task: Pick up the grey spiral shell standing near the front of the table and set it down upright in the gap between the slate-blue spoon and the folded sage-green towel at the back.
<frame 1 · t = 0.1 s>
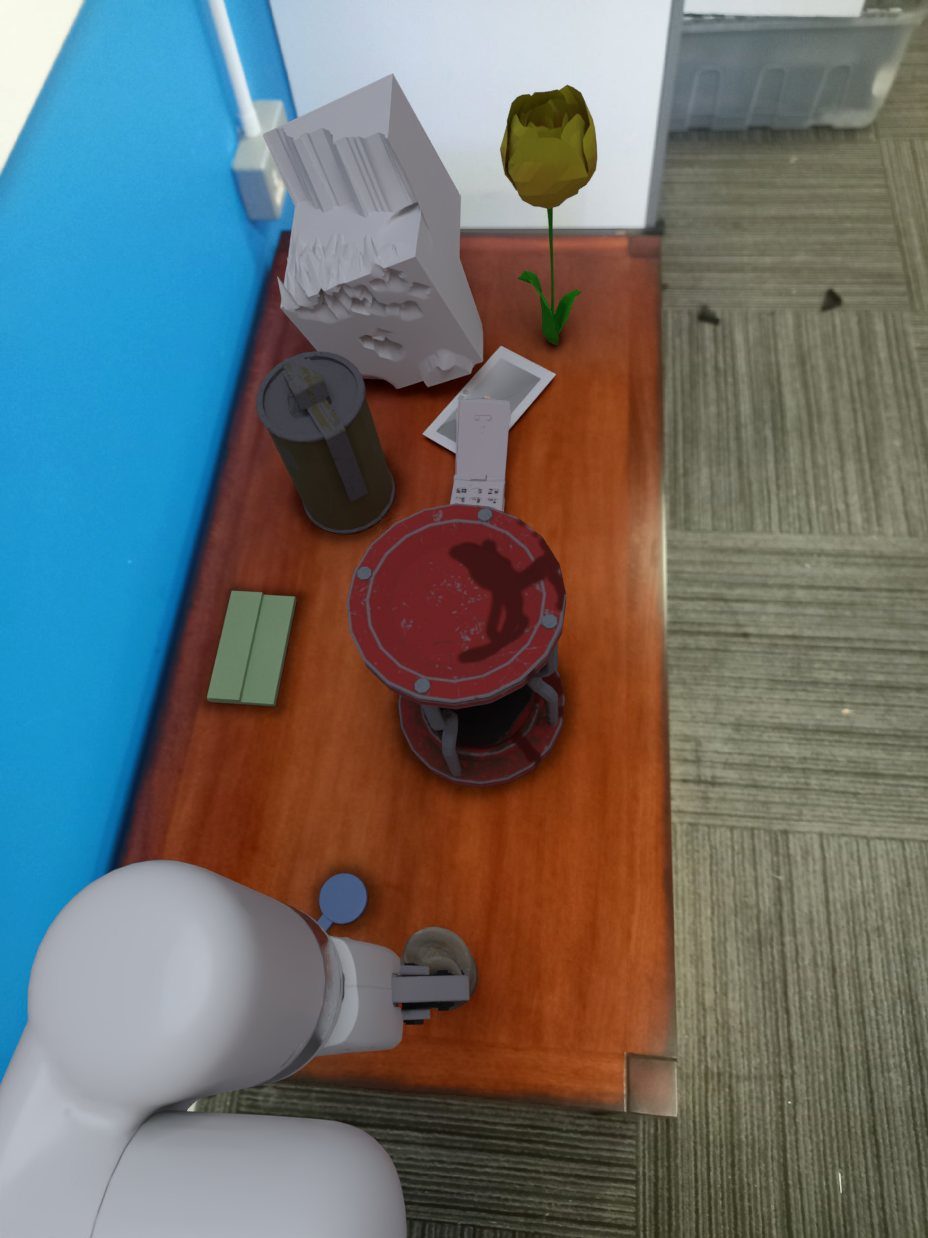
hand: (339, 999, 54), 25 cm above the table, tool pointing down, fingers open, 9 cm apart
canister: (350, 496, 99), on the table
flower: (551, 342, 106), on the table
mobile phone: (476, 526, 96), on the table
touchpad: (490, 411, 102), on the table
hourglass: (482, 707, 88), on the table
grey carved stone block: (395, 340, 108), on the table
grey spiral shell: (454, 976, 78), on the table
spoon: (315, 936, 80), on the table
towel: (254, 649, 92), on the table
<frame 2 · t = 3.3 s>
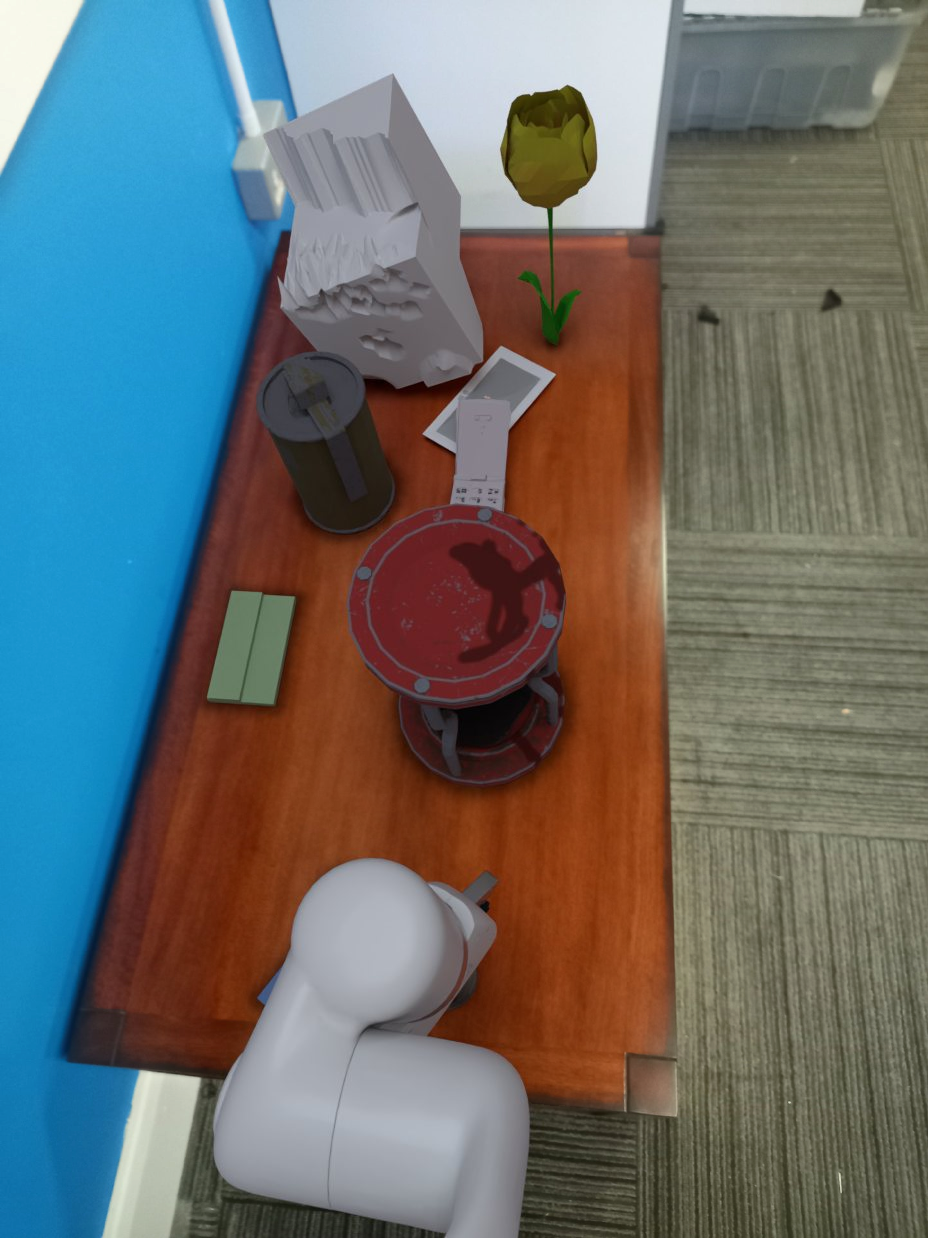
hand: (440, 970, 68), 10 cm above the table, tool pointing down, fingers closed on grey spiral shell, 5 cm apart
grey spiral shell: (454, 976, 78), on the table, touching gripper
everything else where it was.
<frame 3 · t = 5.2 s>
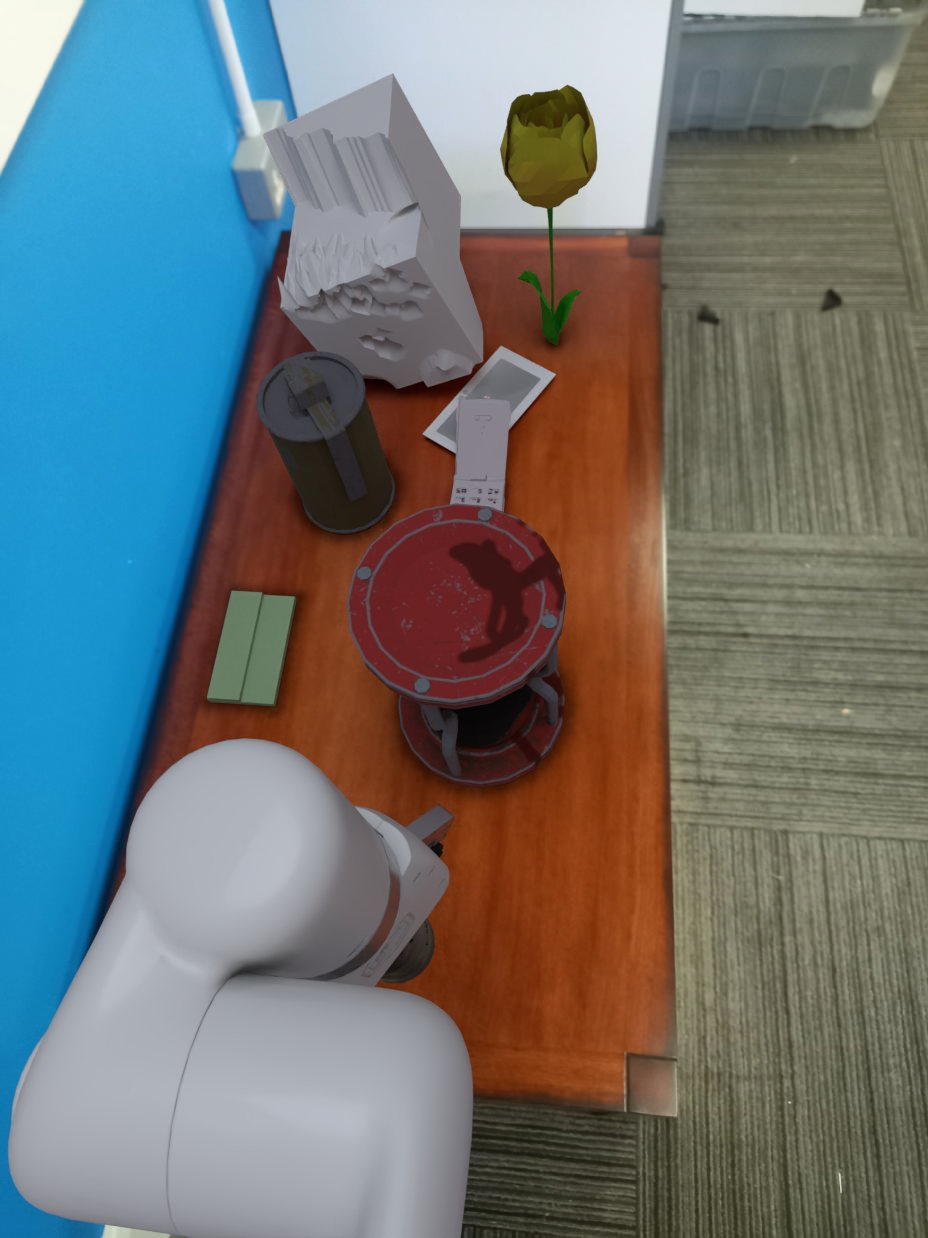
hand: (385, 931, 56), 25 cm above the table, tool pointing down, fingers closed on grey spiral shell, 5 cm apart
grey spiral shell: (409, 946, 65), point 14 cm above the table, touching gripper
everything else where it was.
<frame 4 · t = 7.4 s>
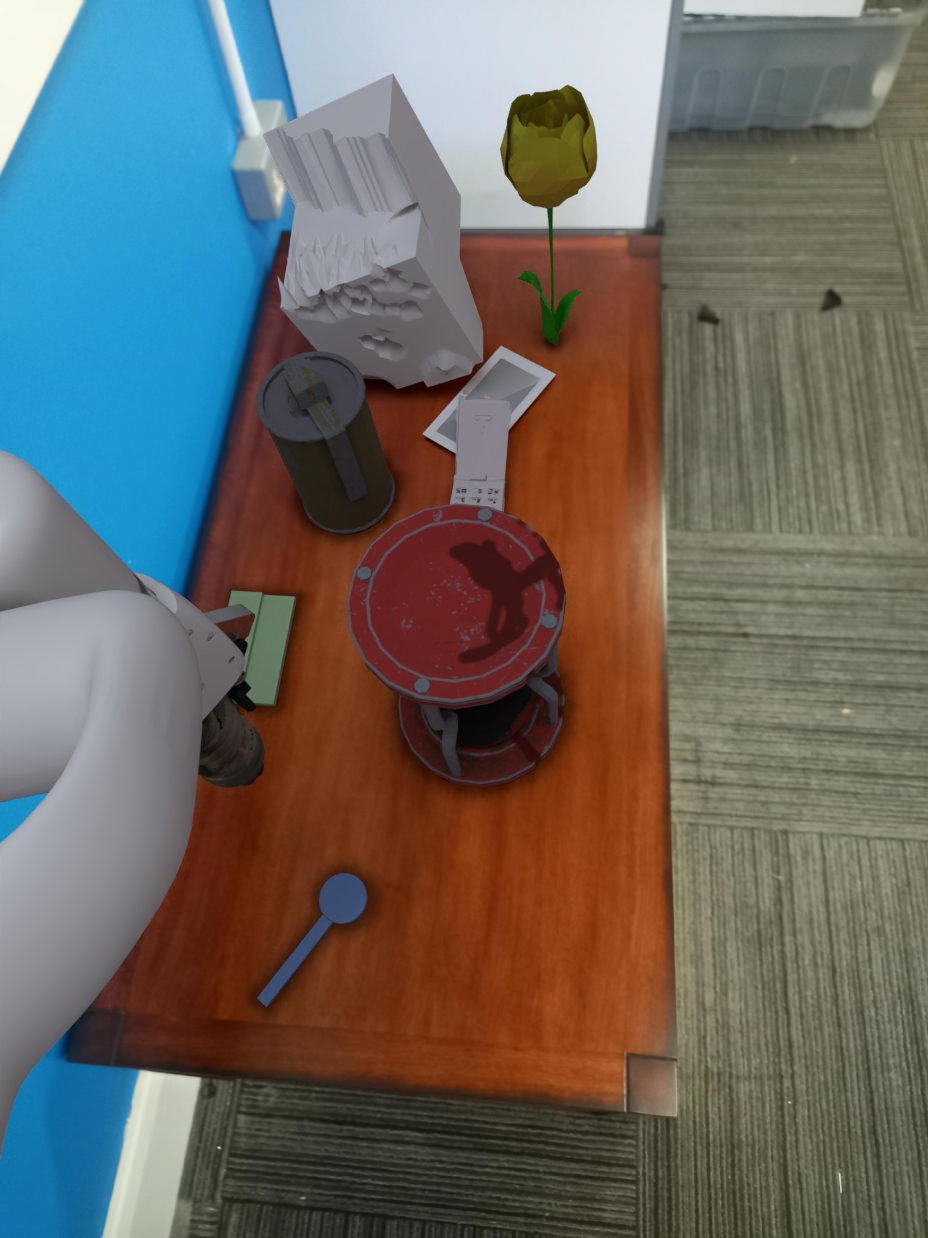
hand: (208, 731, 63), 24 cm above the table, tool pointing down, fingers closed on grey spiral shell, 5 cm apart
grey spiral shell: (253, 769, 72), point 14 cm above the table, touching gripper
everything else where it was.
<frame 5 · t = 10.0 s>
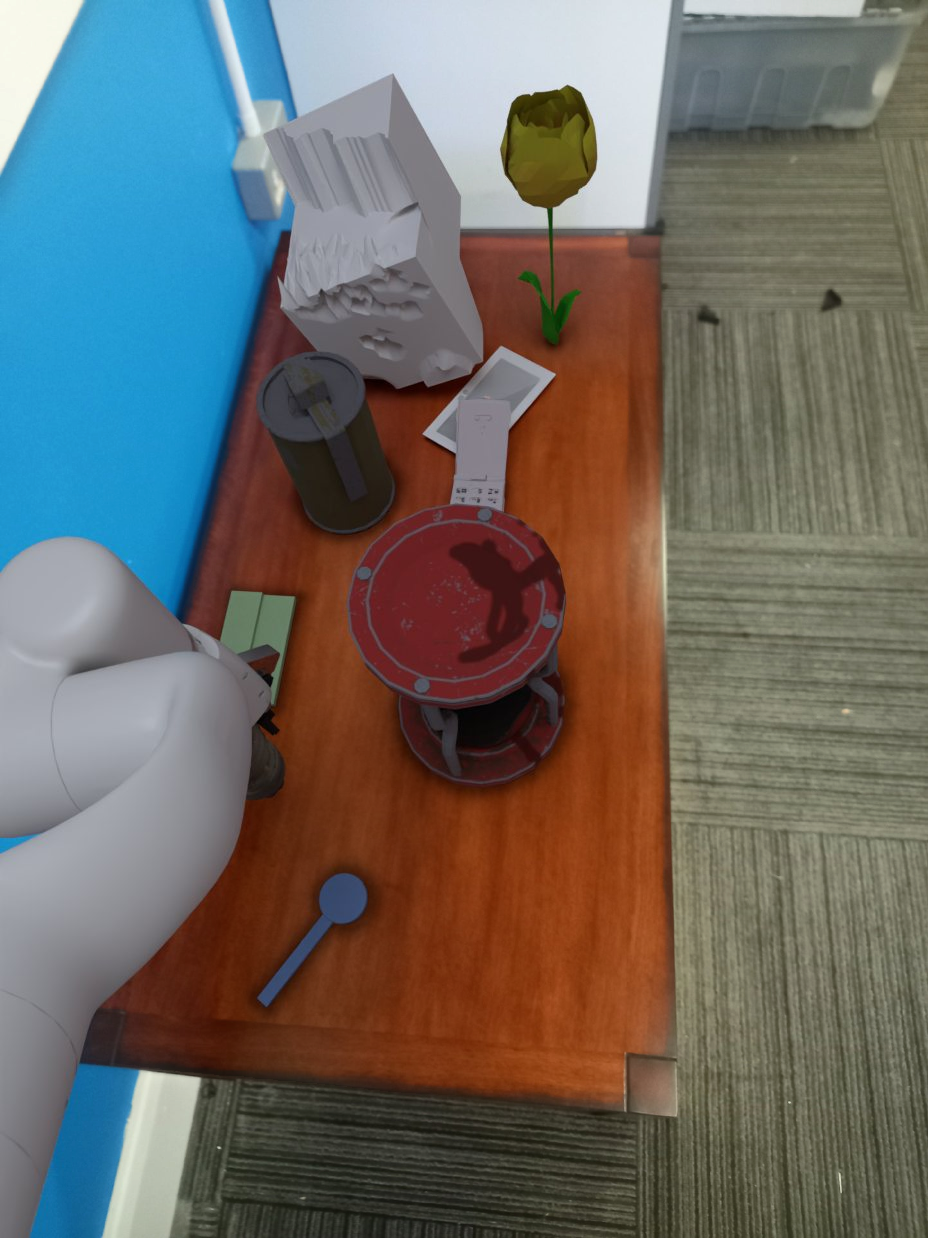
hand: (238, 752, 73), 14 cm above the table, tool pointing down, fingers closed on grey spiral shell, 5 cm apart
grey spiral shell: (274, 783, 82), point 4 cm above the table, touching gripper
everything else where it was.
when the fingers open (10 cm above the table, at t = 11.7 s): grey spiral shell stays where it is, on the table.
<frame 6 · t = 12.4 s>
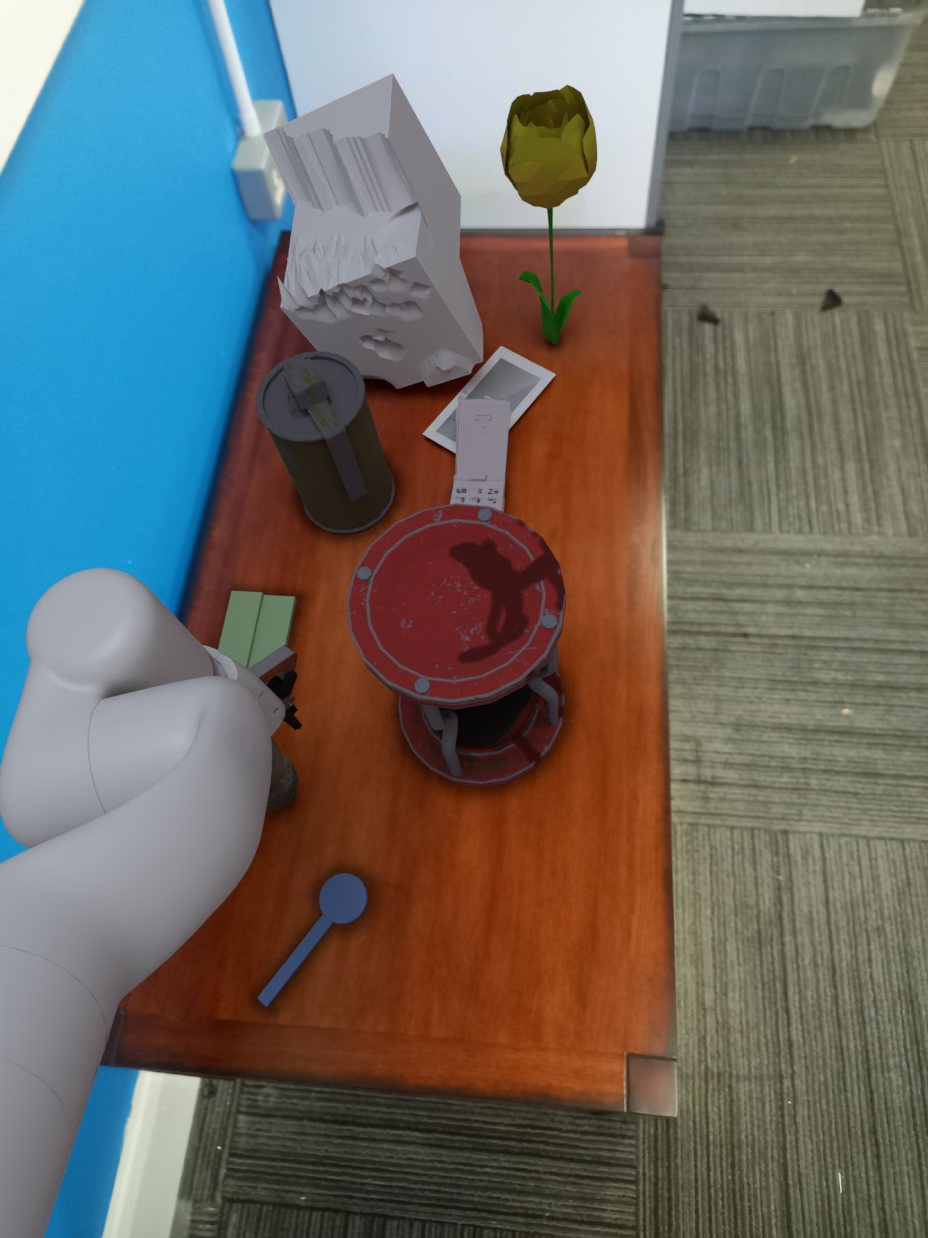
hand: (249, 762, 75), 11 cm above the table, tool pointing down, fingers open, 9 cm apart
grey spiral shell: (286, 794, 86), on the table
everything else where it was.
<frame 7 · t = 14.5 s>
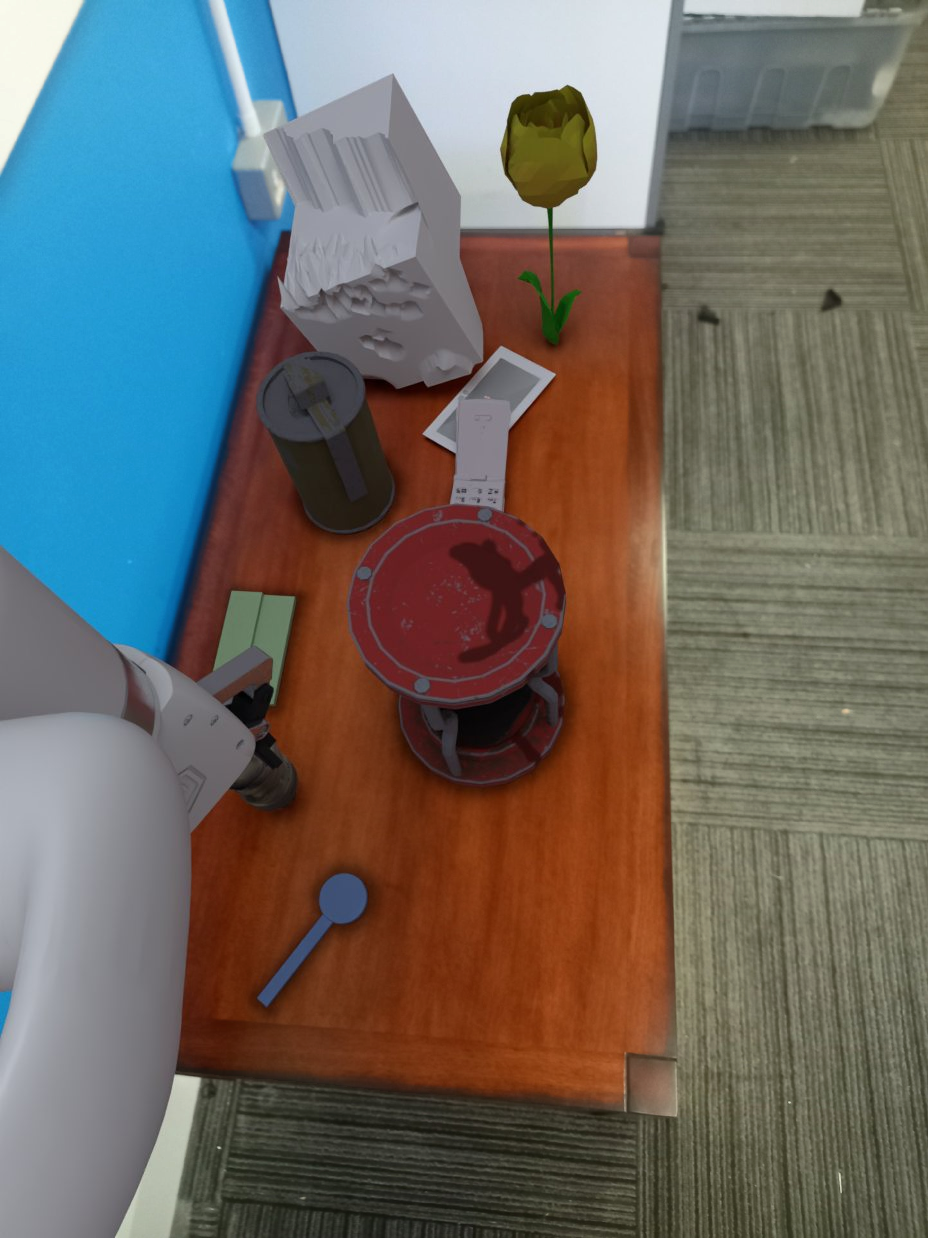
hand: (206, 817, 52), 32 cm above the table, tool pointing down, fingers open, 9 cm apart
nothing on the table moved.
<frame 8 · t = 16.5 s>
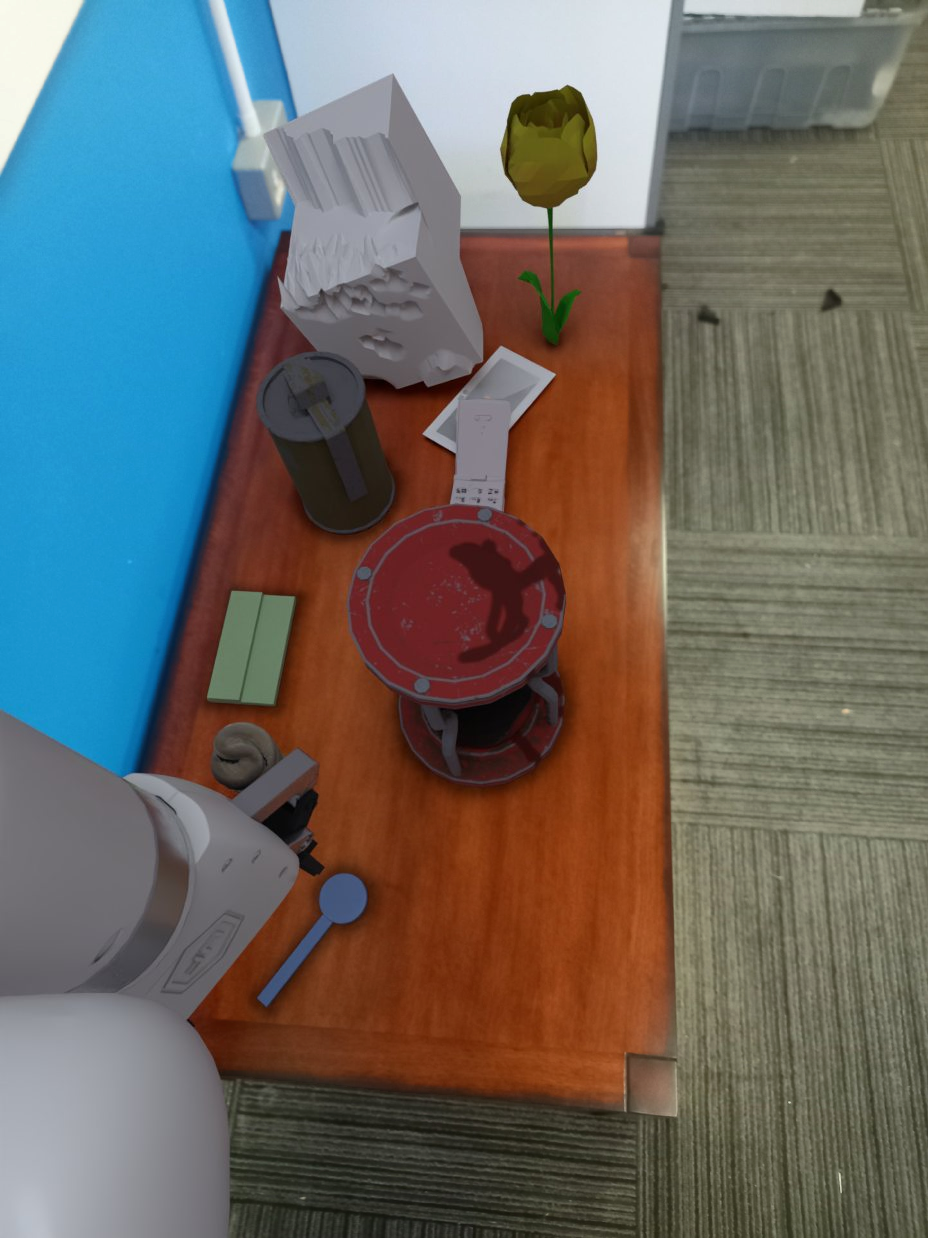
hand: (237, 931, 45), 36 cm above the table, tool pointing down, fingers open, 9 cm apart
nothing on the table moved.
at the end: grey spiral shell inside the target area on the table beside the towel (0.1 cm from its centre), on the table; grey spiral shell 13.5 cm from the spoon (horizontally); grey spiral shell tilted 0° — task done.
